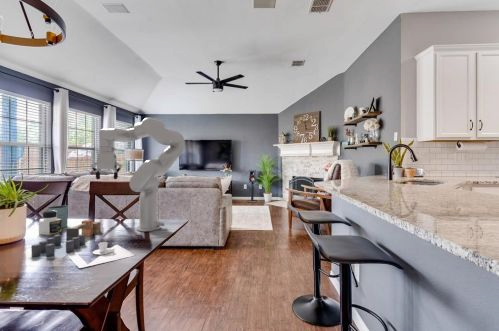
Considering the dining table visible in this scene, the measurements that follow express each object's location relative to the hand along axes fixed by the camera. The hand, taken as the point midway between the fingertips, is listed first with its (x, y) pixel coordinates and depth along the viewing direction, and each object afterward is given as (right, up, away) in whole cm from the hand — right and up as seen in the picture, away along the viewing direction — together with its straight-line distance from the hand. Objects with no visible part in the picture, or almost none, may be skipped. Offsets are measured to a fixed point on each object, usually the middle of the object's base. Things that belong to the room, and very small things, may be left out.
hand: (106, 179), depth 159 cm
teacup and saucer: (+23, -29, -48) cm, 61 cm away
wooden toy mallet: (+1, -28, -23) cm, 36 cm away
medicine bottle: (-23, -29, -14) cm, 39 cm away
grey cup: (-28, -28, -2) cm, 40 cm away
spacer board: (+3, -29, -42) cm, 51 cm away
